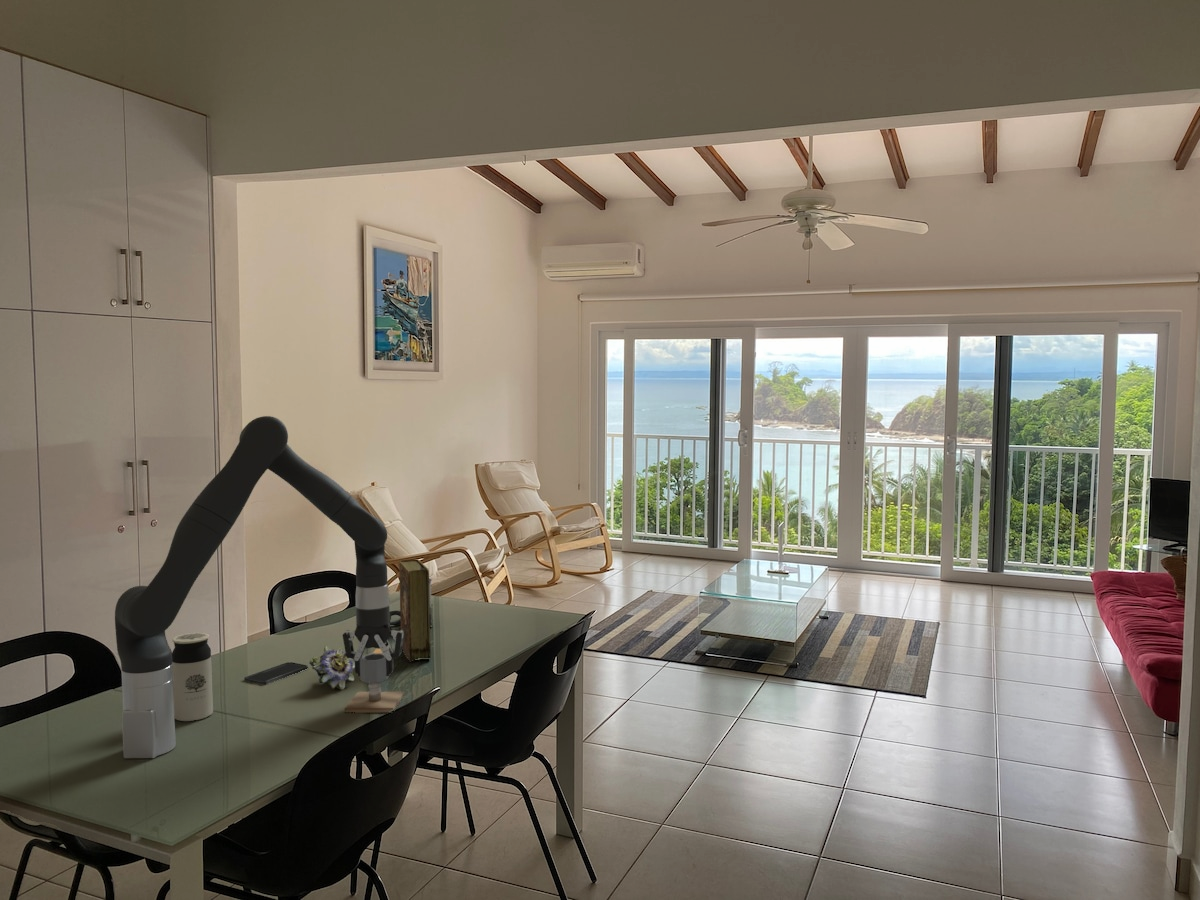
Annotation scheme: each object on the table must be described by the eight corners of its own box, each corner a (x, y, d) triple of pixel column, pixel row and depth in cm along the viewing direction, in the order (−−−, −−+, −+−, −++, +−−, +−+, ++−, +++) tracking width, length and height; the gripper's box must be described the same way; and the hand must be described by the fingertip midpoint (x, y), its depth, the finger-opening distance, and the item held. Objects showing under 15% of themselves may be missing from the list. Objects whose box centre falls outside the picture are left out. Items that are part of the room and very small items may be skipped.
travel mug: (175, 712, 201) (172, 634, 200) (214, 707, 204) (211, 630, 203) (172, 724, 194) (169, 643, 193) (212, 719, 197) (209, 639, 196)
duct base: (393, 712, 200) (392, 688, 200) (344, 712, 200) (343, 688, 200) (404, 695, 211) (403, 672, 211) (358, 695, 211) (357, 672, 211)
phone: (310, 666, 233) (263, 682, 220) (310, 670, 233) (264, 686, 220) (288, 661, 236) (242, 677, 223) (288, 665, 237) (242, 682, 223)
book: (400, 647, 251) (398, 560, 250) (419, 645, 253) (417, 558, 252) (410, 663, 236) (408, 571, 235) (430, 661, 238) (428, 569, 237)
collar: (384, 682, 203) (384, 661, 202) (358, 682, 203) (357, 661, 202) (394, 669, 212) (393, 648, 212) (369, 669, 212) (368, 648, 212)
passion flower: (341, 710, 217) (326, 681, 209) (308, 696, 222) (292, 666, 214) (370, 675, 224) (356, 645, 217) (338, 661, 229) (323, 632, 221)
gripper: (336, 608, 201) (338, 681, 202) (400, 607, 201) (402, 680, 202) (346, 600, 208) (348, 670, 209) (407, 599, 208) (409, 669, 209)
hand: (374, 675), depth 206 cm, fingers closed on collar, 6 cm apart
